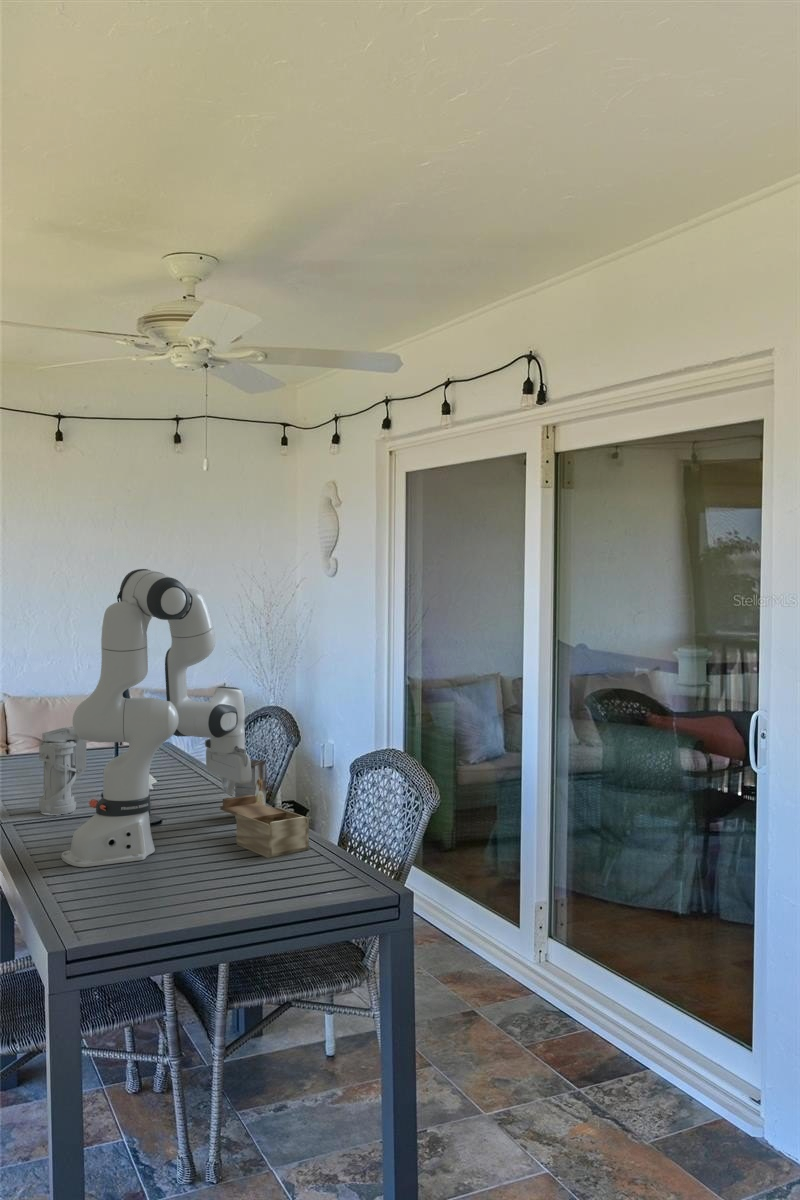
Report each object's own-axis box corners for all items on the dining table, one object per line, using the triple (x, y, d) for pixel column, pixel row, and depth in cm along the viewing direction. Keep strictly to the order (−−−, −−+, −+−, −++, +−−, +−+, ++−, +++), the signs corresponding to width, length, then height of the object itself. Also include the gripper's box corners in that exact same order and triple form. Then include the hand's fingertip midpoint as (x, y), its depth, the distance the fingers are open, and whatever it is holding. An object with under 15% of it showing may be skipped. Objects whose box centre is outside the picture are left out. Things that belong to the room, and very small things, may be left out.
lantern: (43, 817, 284) (43, 731, 283) (36, 810, 293) (36, 727, 292) (88, 812, 290) (88, 728, 290) (80, 805, 299) (80, 724, 299)
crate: (268, 857, 243) (268, 823, 243) (236, 844, 256) (236, 811, 256) (308, 849, 251) (308, 816, 251) (275, 837, 263) (276, 805, 263)
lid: (251, 821, 251) (251, 810, 251) (220, 809, 264) (220, 799, 264) (285, 815, 258) (285, 804, 258) (254, 804, 271) (254, 794, 271)
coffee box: (245, 813, 291) (245, 759, 291) (266, 814, 290) (266, 760, 289) (234, 820, 282) (234, 764, 282) (255, 821, 281) (255, 765, 280)
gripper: (257, 748, 265) (257, 799, 266) (221, 737, 281) (221, 785, 282) (236, 751, 261) (236, 802, 262) (201, 739, 277) (201, 788, 278)
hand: (228, 793), depth 272 cm, fingers closed
